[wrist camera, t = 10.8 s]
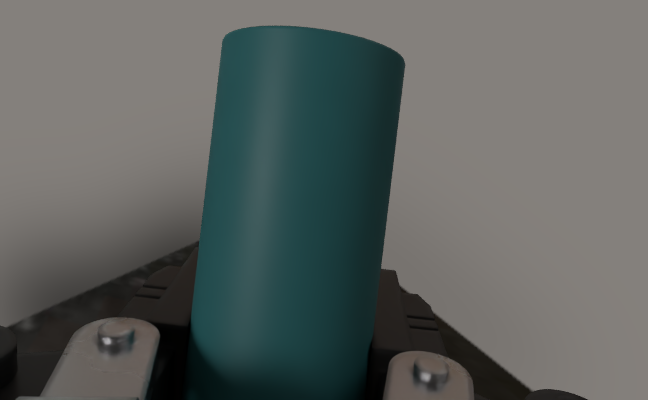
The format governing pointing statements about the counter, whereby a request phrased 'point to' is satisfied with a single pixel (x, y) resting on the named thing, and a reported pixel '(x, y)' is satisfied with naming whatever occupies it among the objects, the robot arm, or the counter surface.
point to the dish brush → (293, 216)
